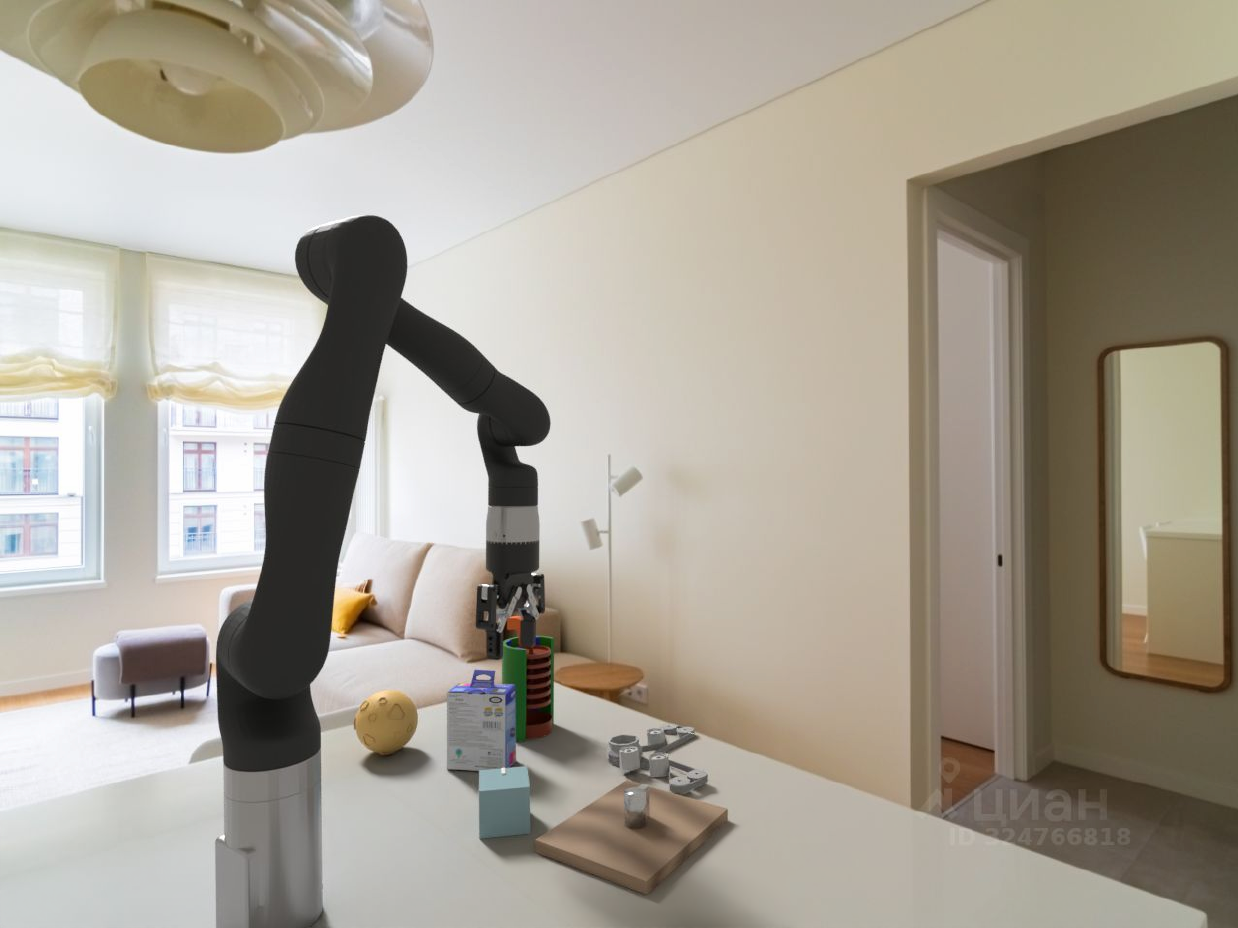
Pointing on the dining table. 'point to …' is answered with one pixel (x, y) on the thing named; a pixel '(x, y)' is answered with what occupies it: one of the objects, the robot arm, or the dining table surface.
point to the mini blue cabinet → (504, 802)
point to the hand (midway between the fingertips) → (512, 652)
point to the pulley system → (656, 756)
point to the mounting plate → (632, 837)
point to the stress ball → (386, 721)
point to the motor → (530, 682)
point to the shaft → (636, 806)
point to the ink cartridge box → (481, 724)
